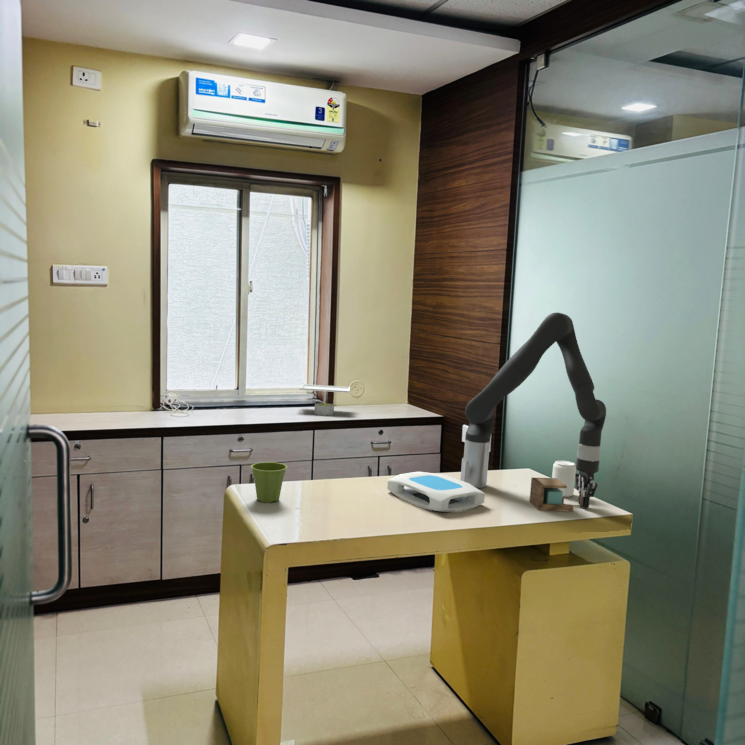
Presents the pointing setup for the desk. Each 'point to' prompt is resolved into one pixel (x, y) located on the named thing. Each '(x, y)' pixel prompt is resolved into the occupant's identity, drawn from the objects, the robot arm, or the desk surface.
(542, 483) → the walnut cubby
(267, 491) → the plant pot
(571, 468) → the beverage can
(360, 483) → the desk surface
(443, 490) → the aerobic step platform
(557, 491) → the tethered block
